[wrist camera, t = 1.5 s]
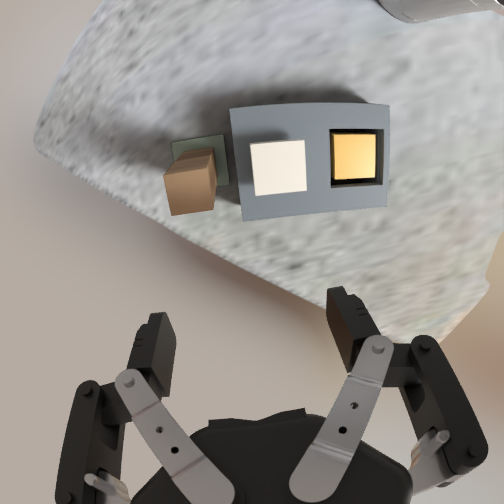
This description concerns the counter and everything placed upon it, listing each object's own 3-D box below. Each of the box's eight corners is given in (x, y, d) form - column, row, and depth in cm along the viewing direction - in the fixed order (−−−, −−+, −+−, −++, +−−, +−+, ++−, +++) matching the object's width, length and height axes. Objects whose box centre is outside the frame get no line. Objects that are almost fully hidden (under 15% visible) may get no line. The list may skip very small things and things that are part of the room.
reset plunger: (327, 132, 29) (333, 134, 28) (367, 132, 29) (375, 134, 28) (329, 174, 32) (334, 179, 30) (367, 172, 32) (374, 177, 30)
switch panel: (229, 108, 29) (229, 108, 25) (369, 103, 30) (389, 105, 25) (240, 205, 35) (242, 221, 31) (369, 193, 36) (386, 206, 31)
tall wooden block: (183, 151, 31) (163, 175, 21) (213, 147, 31) (206, 168, 21) (188, 180, 33) (171, 215, 23) (217, 176, 33) (213, 209, 23)
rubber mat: (172, 142, 31) (171, 143, 30) (223, 134, 31) (223, 134, 30) (180, 190, 34) (179, 192, 33) (229, 183, 34) (229, 184, 33)
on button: (247, 139, 28) (250, 144, 25) (295, 135, 28) (304, 140, 25) (252, 185, 30) (255, 196, 27) (298, 180, 31) (306, 190, 27)
